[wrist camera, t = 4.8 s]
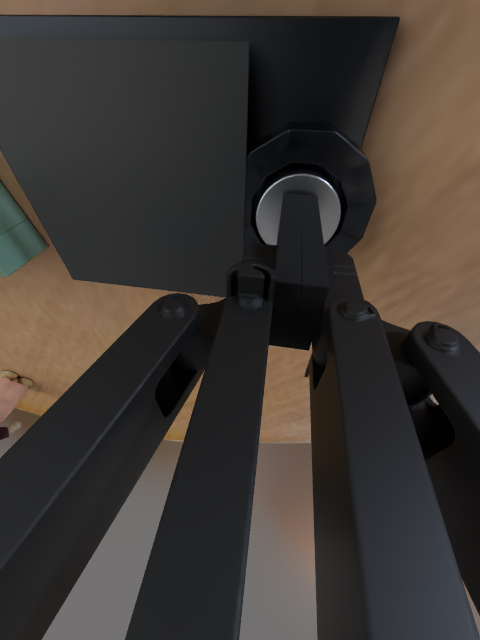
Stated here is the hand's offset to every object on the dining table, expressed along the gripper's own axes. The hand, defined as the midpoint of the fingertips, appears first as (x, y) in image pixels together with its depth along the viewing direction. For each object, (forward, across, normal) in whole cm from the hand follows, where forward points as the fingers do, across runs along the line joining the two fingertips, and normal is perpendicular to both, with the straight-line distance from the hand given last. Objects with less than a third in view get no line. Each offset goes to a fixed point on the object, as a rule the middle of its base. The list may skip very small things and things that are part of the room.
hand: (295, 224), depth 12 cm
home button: (+2, 0, 0) cm, 2 cm away
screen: (+1, -9, 0) cm, 9 cm away
